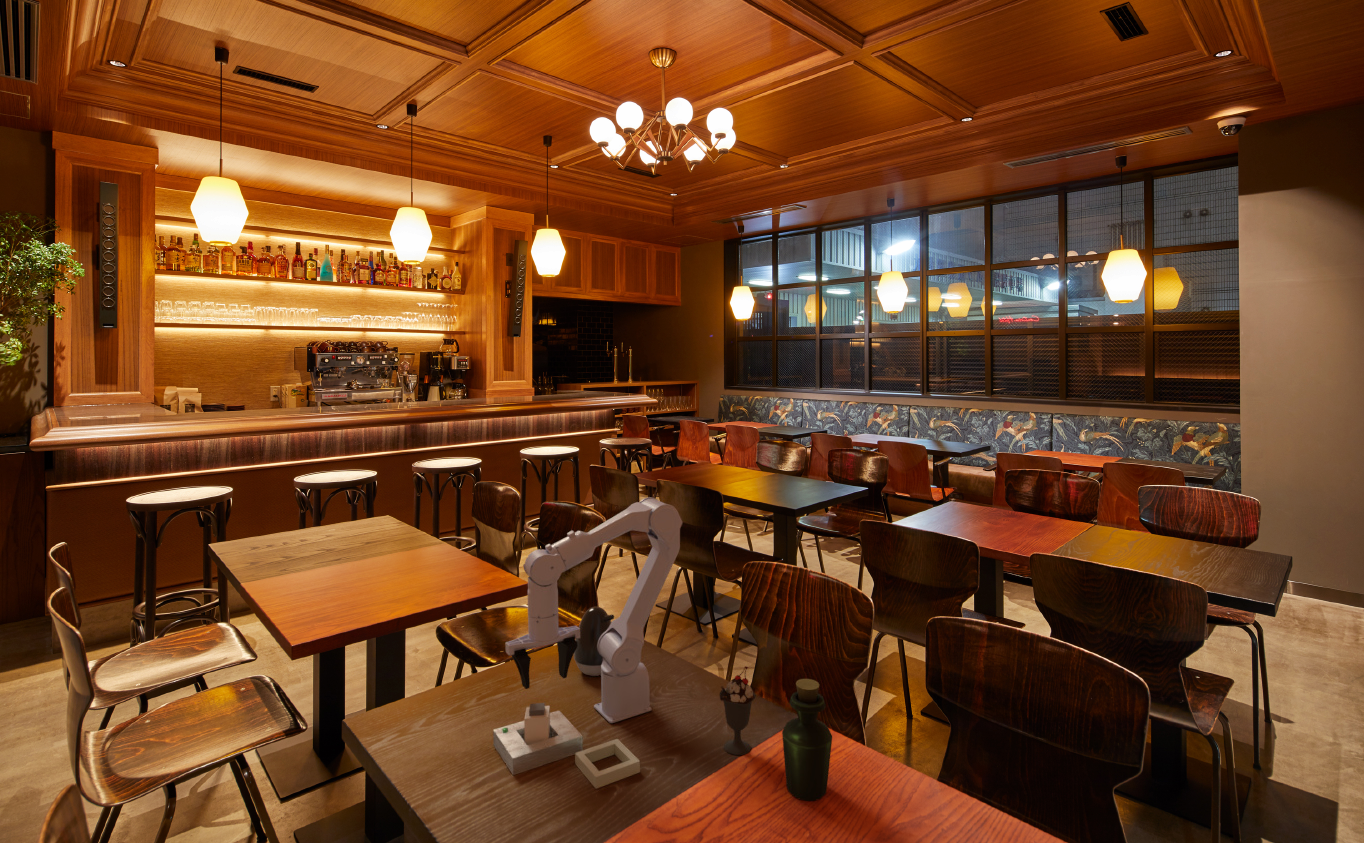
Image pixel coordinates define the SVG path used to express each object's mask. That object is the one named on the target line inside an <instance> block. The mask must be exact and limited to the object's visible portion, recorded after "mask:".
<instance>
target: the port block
mask: <svg viewBox="0 0 1364 843" xmlns="http://www.w3.org/2000/svg"><path fill="white" fill-rule="evenodd" d="M492 730H493V732H492V733H493V734H492V735H493V739H492V740H493V747H494V748H495V750H496V752H497V753H498V755H500V757H501V759H502V760H503V763H504V764H505V763H506V764H505V765H506V767H507V768H508V770H509V771H510V772H511V774H512V776H515V775H518V774H521V773H525V772H527V771H531V770H533V769H536V768H539V767H542V766H545V765H548V764H550V763H554V762H556V761H560V760H562V759H565V758H568V757H570V756H573V755H574V756H575V753H577V752H580V751H583V750H584V749H583V745H584V744H583V735H582V734H581V732H580V731H579V730H578V729H577V728H576V727H575V726H574V725H573V724H572V723H571V721H569V719H568V718H567V717H566V716H565V715H564V714H563V713H562V712H561V711H560V710H556V711H552V712H550V738H549V739H546V740H543V741H540V742H537V743H533V744H530V745H527V744H526V743H525V728H524V720H522V721H518V722H515V723H512V724H508V725H505V726H502V727H498V728H494V729H492Z"/></svg>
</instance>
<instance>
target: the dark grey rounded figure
mask: <svg viewBox="0 0 1364 843" xmlns="http://www.w3.org/2000/svg"><path fill="white" fill-rule="evenodd" d="M613 620H615V615H614V614H608V613H607V611H606V610H605V609H604V608H602V607H600V606H592V607H589V608H588V609H587V610H586V611H585V612H584V614H583V616H582V617H581V620H580V622H579V626H578V628H580V638H578V639H575V641H577V642H578V646H577V649H576V650H575V652H574V654H573V660H574V661H575V664H576V666H577V668H578V670H579V671H580V672H582V673H583V674H585V675H587V676H589V677H596V676H597V677H598V676H599V675H600V676H601V665H602V662H603V657H602V656H601V655H600V653H599V652H598V648H597V644H598V640H599V638H600V636H601V635H602V634H603V633H604V632H605V631H606V630H607V629H608V628H609V626H610V624H611V622H612V621H613Z"/></svg>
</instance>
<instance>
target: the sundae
mask: <svg viewBox="0 0 1364 843" xmlns="http://www.w3.org/2000/svg"><path fill="white" fill-rule="evenodd" d="M748 668H749V666H746V665H745V666H744V668H743V671H742V672H741V673H739V674H738V675H735V677H734V678H732V679H730V681H729V682H728V683H727V684H726V687H724V686H723V685H722V686H720V688H721V690H720V691H719V700H720V701H721V702H723V705H724V713H725V721H726V724H727V726H728V727H729V728H730V729H732V730H733V732H734V736H733V739H731V740H728V741H726V742H725V743H724V745H723V748H724V750H725V752H727V753H729V754H730V755H733V756H743V755H746V754H748V753H750V751H751V749H752V746H751V744H750V743H749V742H747V741H745V740H743V739H742V737H741V732H742V731H743V730H744V729H745V728H746V727H747V726H748V725H749V722H750V716H751V708H752V703H753V701H754V700H755V699H756V697H757V695H756V694H755V692H754V691H753V688H752V686H750V685H749V679H748V678H747V677H746V676H747V675H746V674H747V669H748ZM743 673H744V678H742V677H741V676H742V674H743Z"/></svg>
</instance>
